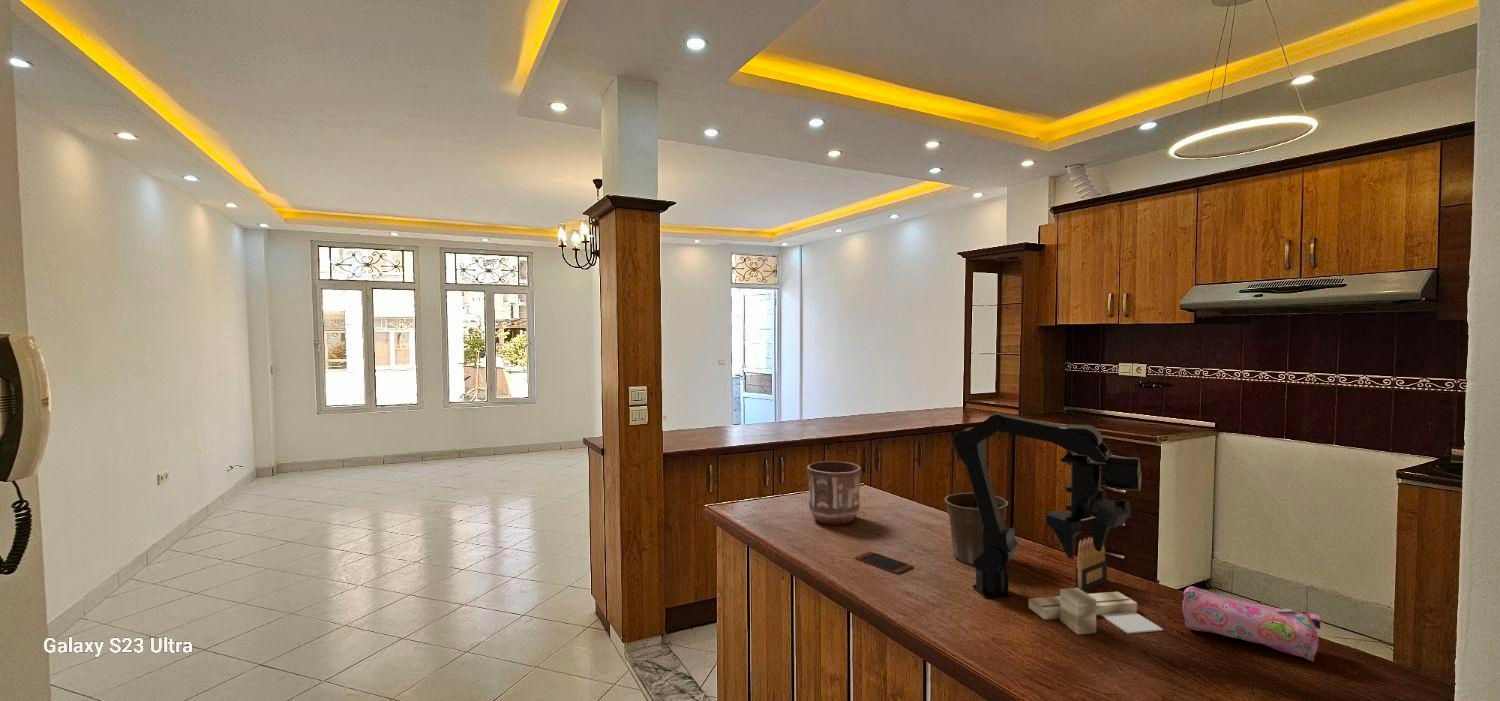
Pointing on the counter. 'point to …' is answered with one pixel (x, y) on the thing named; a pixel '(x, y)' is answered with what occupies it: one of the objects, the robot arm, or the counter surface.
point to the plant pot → (968, 525)
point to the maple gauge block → (1078, 610)
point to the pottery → (834, 491)
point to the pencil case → (1252, 622)
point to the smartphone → (884, 563)
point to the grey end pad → (1131, 622)
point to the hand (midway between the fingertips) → (1084, 554)
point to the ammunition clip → (1090, 565)
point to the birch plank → (1104, 601)
